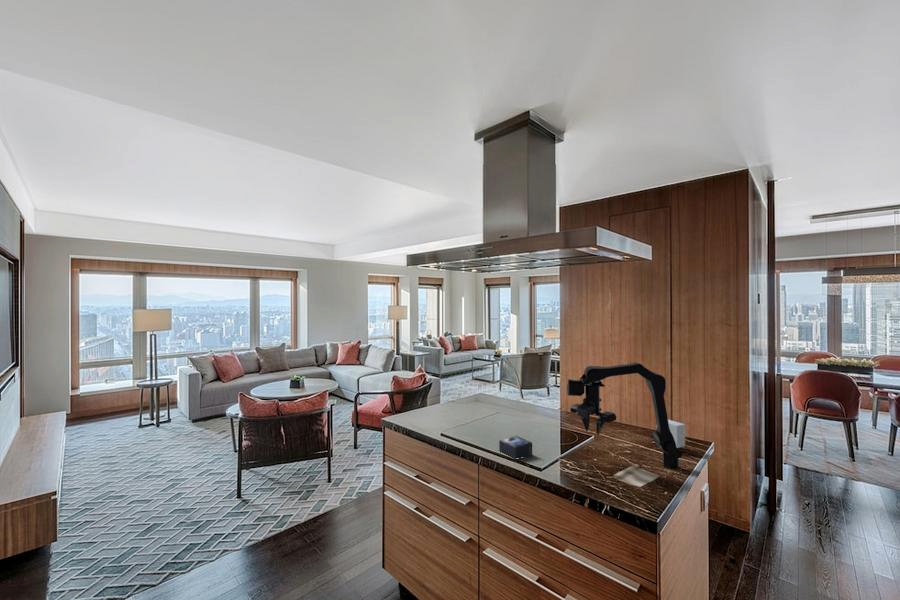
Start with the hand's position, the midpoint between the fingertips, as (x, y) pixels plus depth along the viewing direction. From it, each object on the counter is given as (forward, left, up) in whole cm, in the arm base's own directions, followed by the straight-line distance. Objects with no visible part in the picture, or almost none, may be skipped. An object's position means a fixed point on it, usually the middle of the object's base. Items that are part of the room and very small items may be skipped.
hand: (592, 432), depth 161 cm
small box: (+17, -23, -9) cm, 30 cm away
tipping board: (0, +15, -12) cm, 19 cm away
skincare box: (-47, +11, -12) cm, 50 cm away
